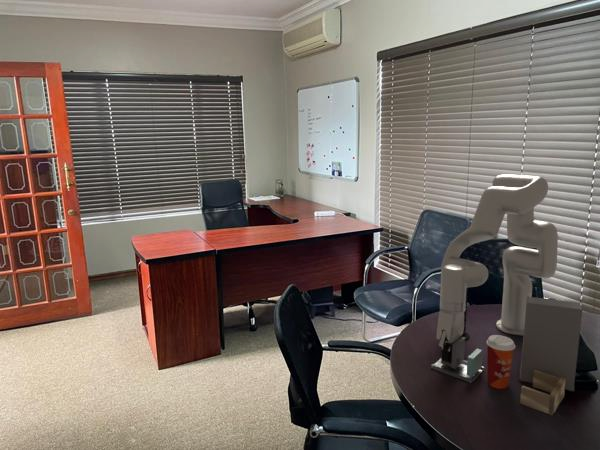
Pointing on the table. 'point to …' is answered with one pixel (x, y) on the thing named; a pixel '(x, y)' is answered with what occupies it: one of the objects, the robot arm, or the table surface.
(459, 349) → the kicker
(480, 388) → the table surface
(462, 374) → the track
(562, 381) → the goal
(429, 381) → the table surface
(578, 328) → the cassette tape recorder
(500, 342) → the paper cup
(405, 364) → the table surface
